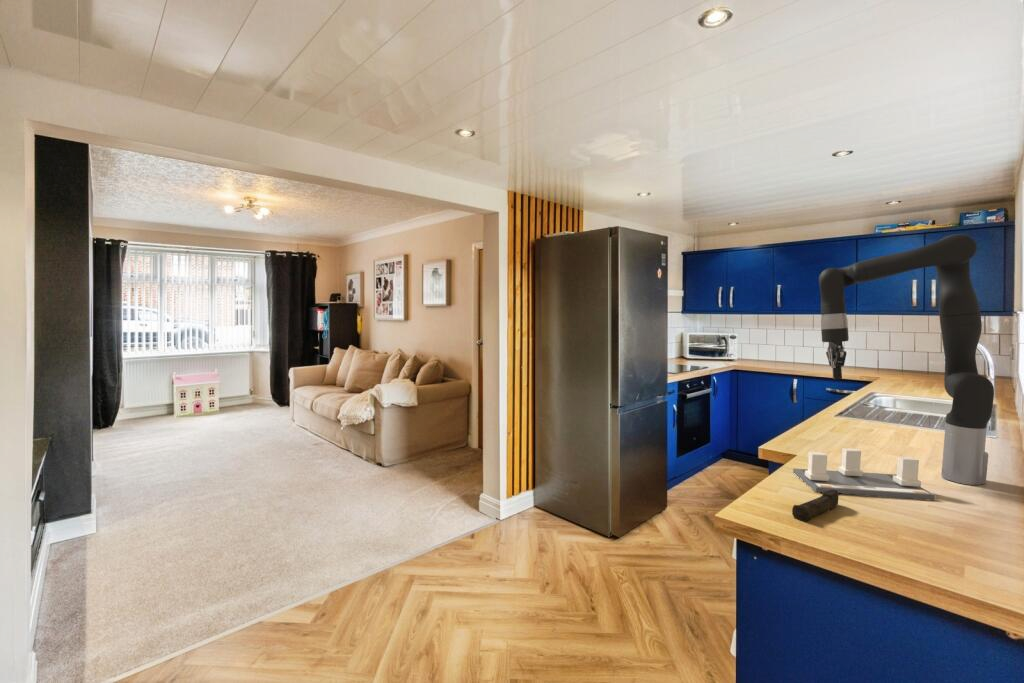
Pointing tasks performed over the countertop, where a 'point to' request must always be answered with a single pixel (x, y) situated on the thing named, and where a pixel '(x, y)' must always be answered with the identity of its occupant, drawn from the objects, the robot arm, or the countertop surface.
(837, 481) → the switch bank
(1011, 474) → the countertop surface
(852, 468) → the middle tab
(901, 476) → the near tab
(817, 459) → the far tab
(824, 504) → the hand tool
